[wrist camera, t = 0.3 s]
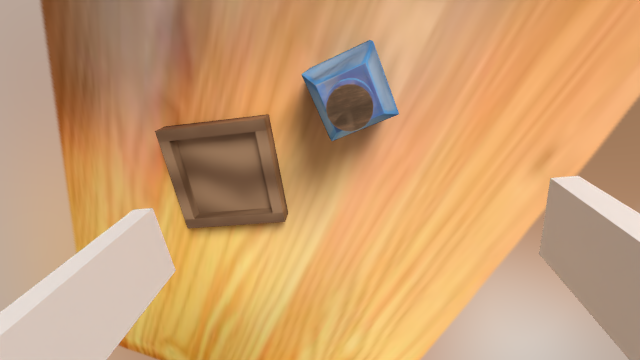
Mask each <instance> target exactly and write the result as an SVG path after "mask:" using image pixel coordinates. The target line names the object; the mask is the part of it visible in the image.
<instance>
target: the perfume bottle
mask: <svg viewBox="0 0 640 360" xmlns="http://www.w3.org/2000/svg"><path fill="white" fill-rule="evenodd" d="M302 77H303V79H304V81H305V83H306V86H307V88H308V90H309V92H310V94H311V97H312V99H313V101H314V103H315V106H316V108H317V110H318V112H319V115H320V117H321V119H322V121H323V124H324V126H325V128H326V130H327V133H328V135H329V137H330V139H331V141H334V140H336V139H339V138H341V137H344V136H346V135H349V134H351V133H353V132H356V131H358V130H361V129H363V128H366V127H368V126H371V125H373V124H376V123H378V122H381V121H383V120H386V119H388V118H391V117H393V116H396V115H398V114H399V112H398V110H397V107H396V104H395V101H394V98H393V96H392V93H391V90H390V87H389V85H388V82H387V79H386V76H385V73H384V71H383V68H382V65H381V62H380V59H379V57H378V54H377V51H376V48H375V45H374V43H373V41H371V40H369V41H367V42H365V43H362V44H360V45H358V46H356V47H354V48H352V49H350V50H348V51H345V52H343V53H341V54H339V55H337V56H335V57H333V58H331V59H329V60H326V61H324V62H322V63H320V64H318V65H316V66H314V67H312V68H310V69H308V70H307V71H306V72H304V73H303V74H302Z"/></svg>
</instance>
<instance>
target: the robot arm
mask: <svg viewBox="0 0 640 360" xmlns="http://www.w3.org/2000/svg"><path fill="white" fill-rule="evenodd" d="M539 254H540V256H541V257H542V258H543V259H544V260H545V261H546V263H547V264H548V265H549V266H550V267H551V268H552V270H553V271H554V272H555V273H556V274H557V275H558V276H559V278H560V279H561V280H562V281H563V282H564V284H565V285H566V286H567V287H568V288H569V289H570V290H571V292H572V293H573V294H574V295H575V297H576V298H577V299H578V300H579V301H580V302H581V303H582V305H583V306H584V307H585V308H586V309H587V310H588V312H589V313H590V314H591V315H592V316H593V318H594V319H595V320H596V321H597V322H598V323H599V325H600V326H601V327H602V328H603V329H604V330H605V332H606V333H607V334H608V335H609V336H610V338H611V339H612V340H613V341H614V342H615V343H616V345H617V346H618V347H619V348H620V349H621V350H622V352H623V353H624V354H625V355H626V356H627V357H628V359H629V360H640V214H639V213H638V212H636V211H634V210H633V209H631V208H630V207H628V206H626V205H625V204H623V203H621V202H620V201H618V200H617V199H615V198H613V197H612V196H610V195H608V194H607V193H605V192H604V191H602V190H600V189H599V188H597V187H595V186H594V185H592V184H591V183H589V182H587V181H586V180H584V179H582V178H581V177H579V176H571V177H558V178H550V185H549V191H548V198H547V205H546V211H545V218H544V225H543V232H542V239H541V246H540V252H539ZM175 271H176V270H175V267H174V265H173V262H172V259H171V257H170V254H169V251H168V248H167V246H166V243H165V240H164V237H163V235H162V232H161V229H160V227H159V224H158V221H157V218H156V216H155V213H154V210H153V208H149V209H136V210H132V211H131V212H130V213H128V214H127V215H126V216H125V217H123V218H122V219H121V220H119V221H118V222H117V223H115V224H114V225H113V226H112V227H110V228H109V229H108V230H106V231H105V232H104V233H102V234H101V235H100V236H99V237H97V238H96V239H95V240H93V241H92V242H91V243H89V244H88V245H87V246H86V247H84V248H83V249H82V250H80V251H79V252H78V253H76V254H75V255H74V256H73V257H71V258H70V259H69V260H67V261H66V262H65V263H63V264H62V265H61V266H60V267H58V268H57V269H56V270H54V271H53V272H52V273H51V274H49V275H48V276H47V277H45V278H44V279H43V280H41V281H40V282H39V283H38V284H36V285H35V286H34V287H32V288H31V289H30V290H28V291H27V292H26V293H25V294H23V295H22V296H21V297H19V298H18V299H17V300H15V301H14V302H13V303H12V304H10V305H9V306H8V307H6V308H5V309H4V310H2V311H1V312H0V360H107V358H108V357H109V356H110V355H111V353H112V352H113V351H114V349H115V348H116V347H117V345H118V344H119V343H120V342H121V340H122V339H123V338H124V336H125V335H126V334H127V333H128V331H129V330H130V329H131V327H132V326H133V325H134V324H135V322H136V321H137V320H138V318H139V317H140V316H141V315H142V313H143V312H144V311H145V309H146V308H147V307H148V306H149V304H150V303H151V302H152V300H153V299H154V298H155V297H156V295H157V294H158V293H159V291H160V290H161V289H162V287H163V286H164V285H165V284H166V282H167V281H168V280H169V278H170V277H171V276H172V275H173V273H174V272H175Z"/></svg>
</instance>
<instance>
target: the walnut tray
mask: <svg viewBox="0 0 640 360" xmlns="http://www.w3.org/2000/svg"><path fill="white" fill-rule="evenodd" d="M155 132H156V135H157V138H158V141H159V144H160V147H161V150H162V153H163V156H164V159H165V162H166V165H167V168H168V171H169V174H170V177H171V180H172V183H173V186H174V189H175V192H176V195H177V198H178V201H179V204H180V207H181V210H182V213H183V216H184V219H185V222H186V225H187V227H188V228H200V227H215V226H230V225H244V224H259V223H274V222H285V220H286V217H287V215H288V210H287V205H286V200H285V195H284V190H283V185H282V180H281V175H280V169H279V164H278V159H277V154H276V149H275V144H274V139H273V134H272V129H271V123H270V118H269V115H260V116H252V117H243V118H235V119H226V120H218V121H209V122H201V123H192V124H183V125H175V126H166V127H163V128H161V129H159V130H157V131H155Z"/></svg>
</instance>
